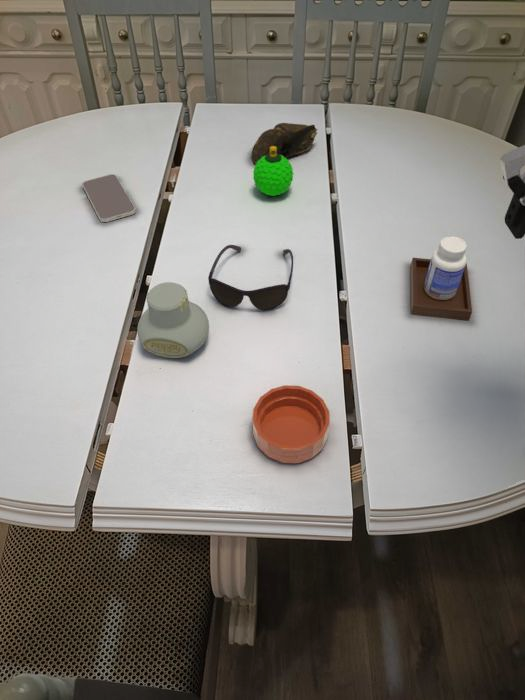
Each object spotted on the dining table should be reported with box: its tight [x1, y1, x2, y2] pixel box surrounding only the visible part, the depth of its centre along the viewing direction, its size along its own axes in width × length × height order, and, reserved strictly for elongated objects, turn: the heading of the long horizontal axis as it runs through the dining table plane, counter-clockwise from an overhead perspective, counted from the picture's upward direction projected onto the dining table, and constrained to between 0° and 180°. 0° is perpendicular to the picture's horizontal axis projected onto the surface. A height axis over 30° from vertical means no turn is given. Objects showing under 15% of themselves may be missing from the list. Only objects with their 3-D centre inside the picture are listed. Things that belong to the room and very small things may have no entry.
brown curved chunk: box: [251, 122, 318, 165], centre depth 119 cm, size 16×9×7 cm, turn 122°
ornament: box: [252, 146, 294, 197], centre depth 107 cm, size 8×8×10 cm
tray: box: [410, 257, 473, 322], centre depth 90 cm, size 12×9×2 cm
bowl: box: [252, 384, 331, 464], centre depth 71 cm, size 10×10×4 cm
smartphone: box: [82, 173, 137, 223], centre depth 109 cm, size 7×1×15 cm
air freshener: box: [136, 281, 210, 359], centre depth 80 cm, size 11×8×10 cm
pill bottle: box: [424, 236, 468, 300], centre depth 86 cm, size 5×5×10 cm
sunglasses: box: [207, 244, 294, 311], centre depth 91 cm, size 14×16×5 cm
